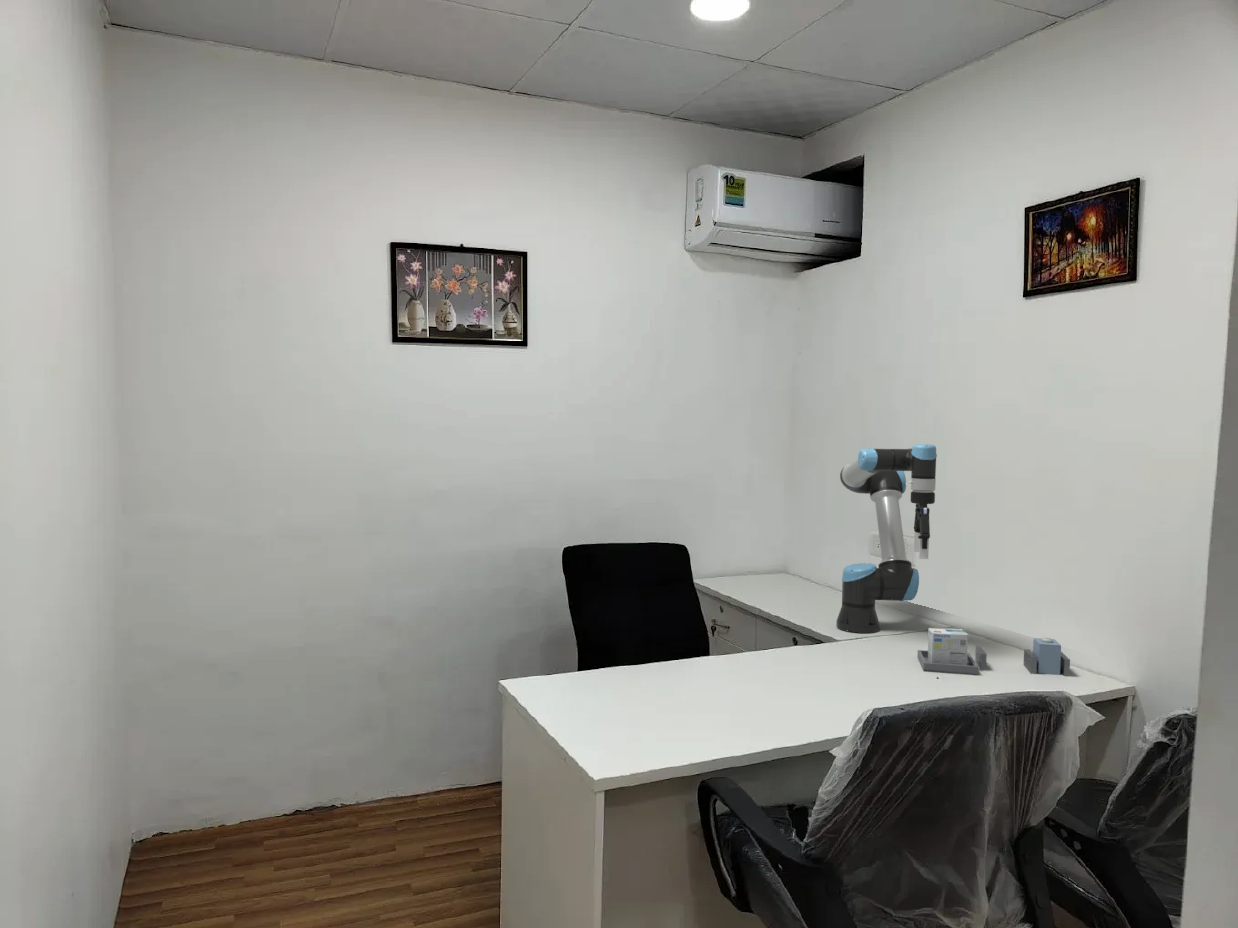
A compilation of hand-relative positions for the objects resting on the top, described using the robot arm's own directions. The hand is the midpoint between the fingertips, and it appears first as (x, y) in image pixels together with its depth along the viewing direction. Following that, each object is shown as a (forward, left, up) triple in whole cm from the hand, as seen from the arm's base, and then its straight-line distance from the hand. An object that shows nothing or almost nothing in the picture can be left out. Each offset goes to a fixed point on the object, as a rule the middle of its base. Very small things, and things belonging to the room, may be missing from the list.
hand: (920, 555), depth 277 cm
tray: (+17, +7, -32) cm, 37 cm away
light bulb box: (+17, +7, -31) cm, 36 cm away
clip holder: (+14, +29, -32) cm, 45 cm away
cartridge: (+14, +36, -32) cm, 50 cm away
